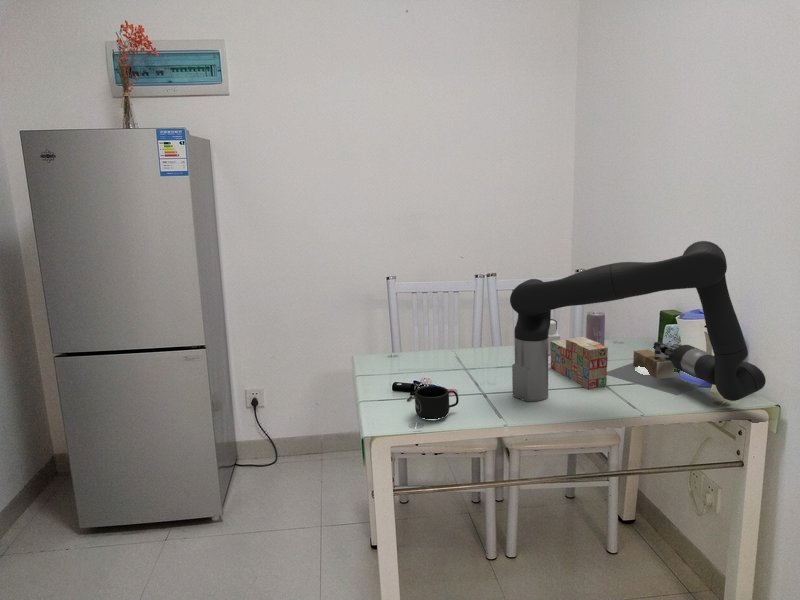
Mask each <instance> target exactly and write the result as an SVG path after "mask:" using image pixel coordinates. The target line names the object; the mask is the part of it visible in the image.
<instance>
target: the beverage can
mask: <svg viewBox="0 0 800 600" xmlns="http://www.w3.org/2000/svg"><path fill="white" fill-rule="evenodd" d="M585 320H586V325H585V326H586V327H585V330H586V331H585V333H586V335H585V338H587V339H590V340H592V341H595V342H598V343H600V344H601V345H603V346H605V336H606V334H605V332H606V331H605V330H606V329H605V328H606V327H605V326H606V315H605V312H603V311H588V312H587V314H586V319H585Z"/></svg>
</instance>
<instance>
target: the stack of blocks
mask: <svg viewBox="0 0 800 600" xmlns="http://www.w3.org/2000/svg"><path fill="white" fill-rule="evenodd" d="M608 349H609V347H607V345H606V346H605V345H604V346H603V345H601V344H600V343H598V342H595V341H592V340H590V339H587V338H586V336H585V337H584V336H580V337H572V338H565V339H560V340H557V341H551V342H550V350H551V355H550V368H551V369H552V370H554V371H556V372H557V373H559V374H561V375H562V376H564V377H566V378H568V380H571V381H573V382H575V383H577V384H578V385H580V386H581V387H584V388H585V389H587V390H593V389H600V388H605V387H606V386H607V380H608V378H607V377H608V375H607V372H608V360H609V359H608V352H609V350H608Z"/></svg>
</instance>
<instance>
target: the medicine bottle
mask: <svg viewBox="0 0 800 600" xmlns="http://www.w3.org/2000/svg"><path fill="white" fill-rule="evenodd" d="M557 340H561V335H560V334H559V332H558V320H556V319H553V318H551V320H550V327H549V333H548V356H551V350H550V342H551V341H557Z"/></svg>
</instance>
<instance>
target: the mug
mask: <svg viewBox="0 0 800 600" xmlns="http://www.w3.org/2000/svg"><path fill="white" fill-rule="evenodd" d="M451 393H453V394H454V396H455V402H454V403H453V404H450V394H451ZM458 404H459V395H458V393H457V392H456V391H455V390H453V389H452V390H451V389H450V390H449V389H448V388H446V387H445V386H440V385H425V386H421V387H419V388H417V389H416V390H415V391H414V406H415V407H414V409H415V413H416V415H417V417H418V416H419V417H418V418H420V417H421V418H425V419H438V418H442V417H445V416H446V415H447V414H448V415H449V412H450V408H453V407H455V406H457V405H458ZM448 415H447V416H448ZM447 416H446V417H447ZM446 417H445V418H446ZM421 418H420V419H421Z"/></svg>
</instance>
